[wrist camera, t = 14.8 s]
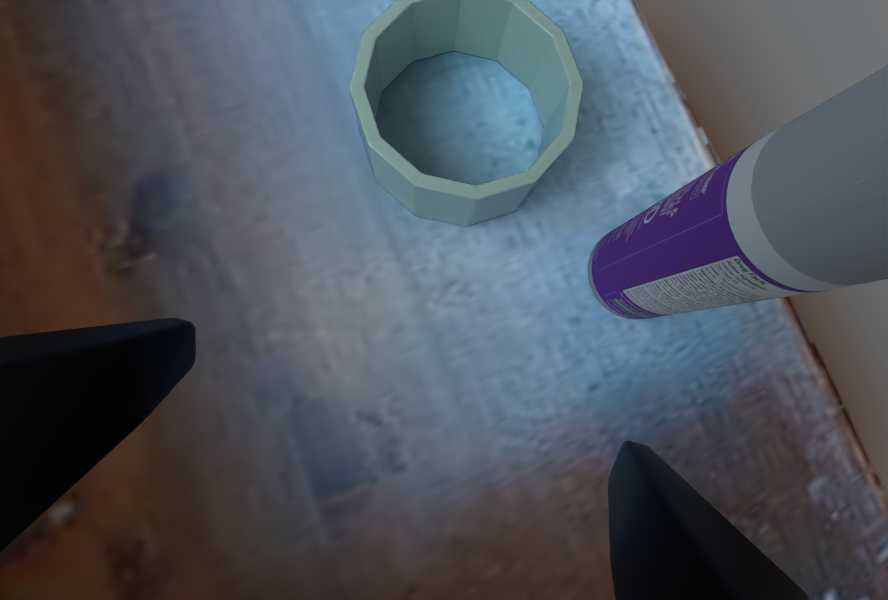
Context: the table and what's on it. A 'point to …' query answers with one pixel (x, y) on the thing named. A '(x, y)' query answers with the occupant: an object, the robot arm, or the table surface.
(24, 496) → the robot arm
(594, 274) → the container
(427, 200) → the pale green faceted ring
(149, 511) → the table surface
